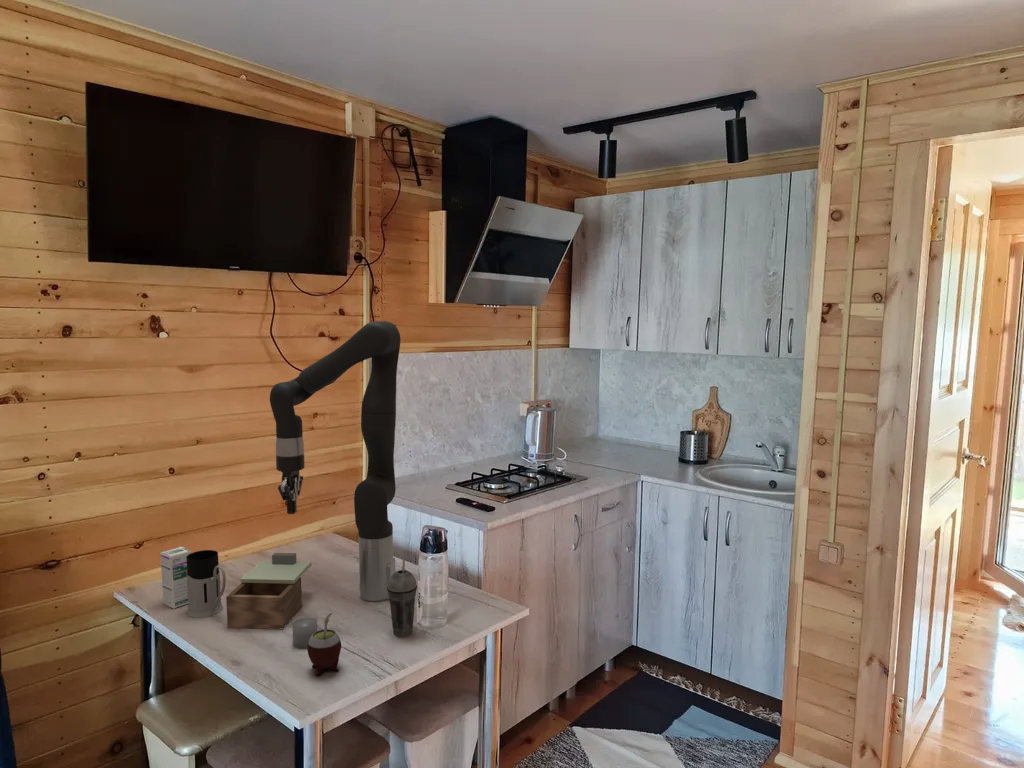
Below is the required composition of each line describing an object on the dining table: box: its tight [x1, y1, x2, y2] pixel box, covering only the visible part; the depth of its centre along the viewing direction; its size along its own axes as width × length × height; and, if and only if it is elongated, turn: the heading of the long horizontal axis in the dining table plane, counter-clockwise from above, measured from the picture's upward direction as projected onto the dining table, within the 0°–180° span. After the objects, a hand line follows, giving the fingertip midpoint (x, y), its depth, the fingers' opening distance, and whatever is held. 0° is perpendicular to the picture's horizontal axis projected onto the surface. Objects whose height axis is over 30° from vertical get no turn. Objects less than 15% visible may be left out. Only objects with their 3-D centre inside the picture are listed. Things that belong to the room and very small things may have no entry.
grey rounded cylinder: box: [291, 616, 318, 650], centre depth 160 cm, size 6×6×5 cm
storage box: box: [225, 576, 303, 630], centre depth 174 cm, size 14×13×8 cm
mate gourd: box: [306, 612, 342, 678], centre depth 147 cm, size 8×8×15 cm
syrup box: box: [159, 546, 192, 610], centre depth 182 cm, size 6×6×14 cm
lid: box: [240, 552, 313, 584], centre depth 181 cm, size 14×13×4 cm
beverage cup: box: [387, 551, 418, 638], centre depth 164 cm, size 7×7×20 cm
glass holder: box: [186, 549, 227, 619], centre depth 176 cm, size 9×14×15 cm, turn 54°
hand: (291, 513), depth 192 cm, fingers closed
